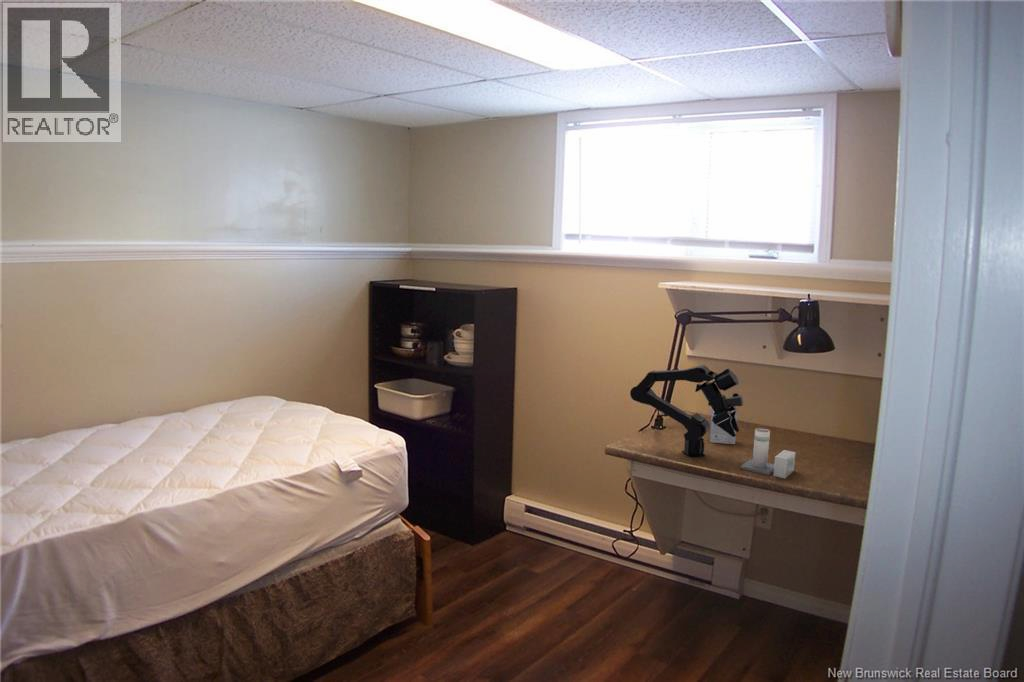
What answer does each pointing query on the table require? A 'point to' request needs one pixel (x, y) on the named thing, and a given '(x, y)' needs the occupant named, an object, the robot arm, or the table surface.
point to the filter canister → (761, 448)
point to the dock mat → (750, 467)
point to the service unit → (784, 464)
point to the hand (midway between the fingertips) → (736, 434)
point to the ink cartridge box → (720, 433)
